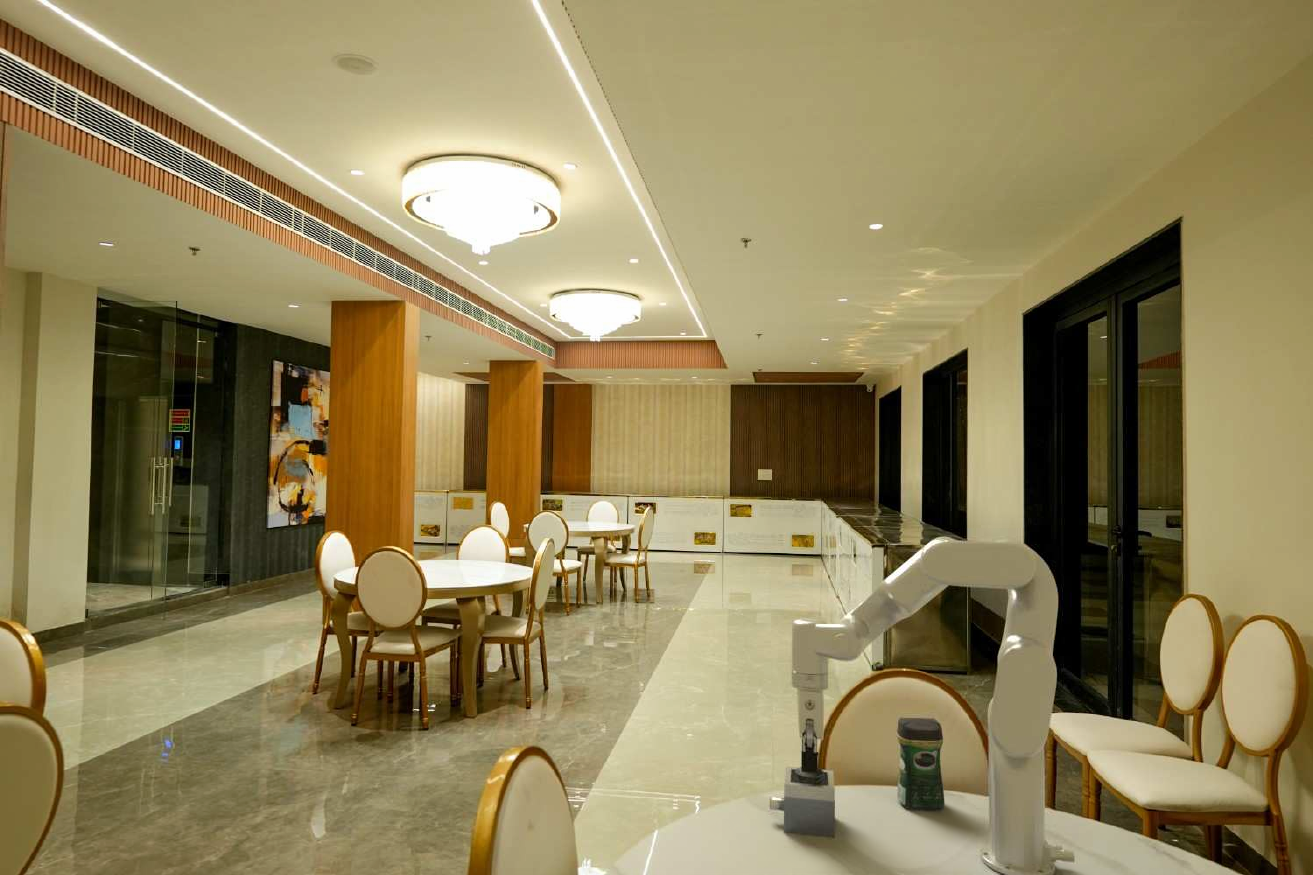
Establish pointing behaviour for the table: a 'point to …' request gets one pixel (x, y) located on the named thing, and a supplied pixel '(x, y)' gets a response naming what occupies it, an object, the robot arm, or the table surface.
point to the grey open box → (807, 805)
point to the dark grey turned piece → (810, 776)
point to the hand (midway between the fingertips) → (809, 763)
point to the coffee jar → (920, 764)
